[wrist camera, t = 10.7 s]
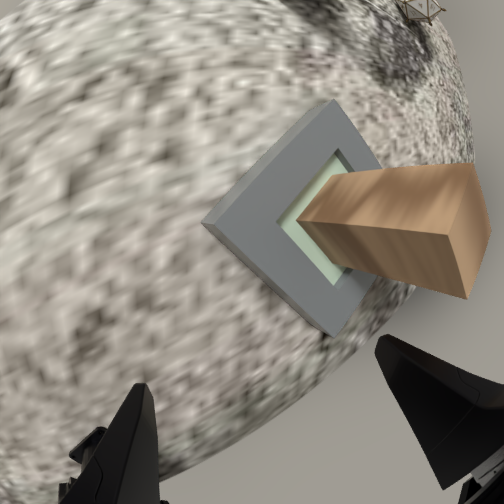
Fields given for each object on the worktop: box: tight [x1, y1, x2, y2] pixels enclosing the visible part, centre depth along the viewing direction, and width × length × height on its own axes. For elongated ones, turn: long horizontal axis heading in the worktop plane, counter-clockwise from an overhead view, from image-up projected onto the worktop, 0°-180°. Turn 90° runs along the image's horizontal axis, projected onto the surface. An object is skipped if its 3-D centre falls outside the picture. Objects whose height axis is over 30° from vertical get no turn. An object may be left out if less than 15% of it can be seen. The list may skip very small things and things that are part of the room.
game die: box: [395, 0, 446, 26], centre depth 24 cm, size 9×8×10 cm
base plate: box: [201, 99, 382, 338], centre depth 22 cm, size 14×14×4 cm
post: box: [296, 163, 491, 299], centre depth 16 cm, size 5×5×12 cm
